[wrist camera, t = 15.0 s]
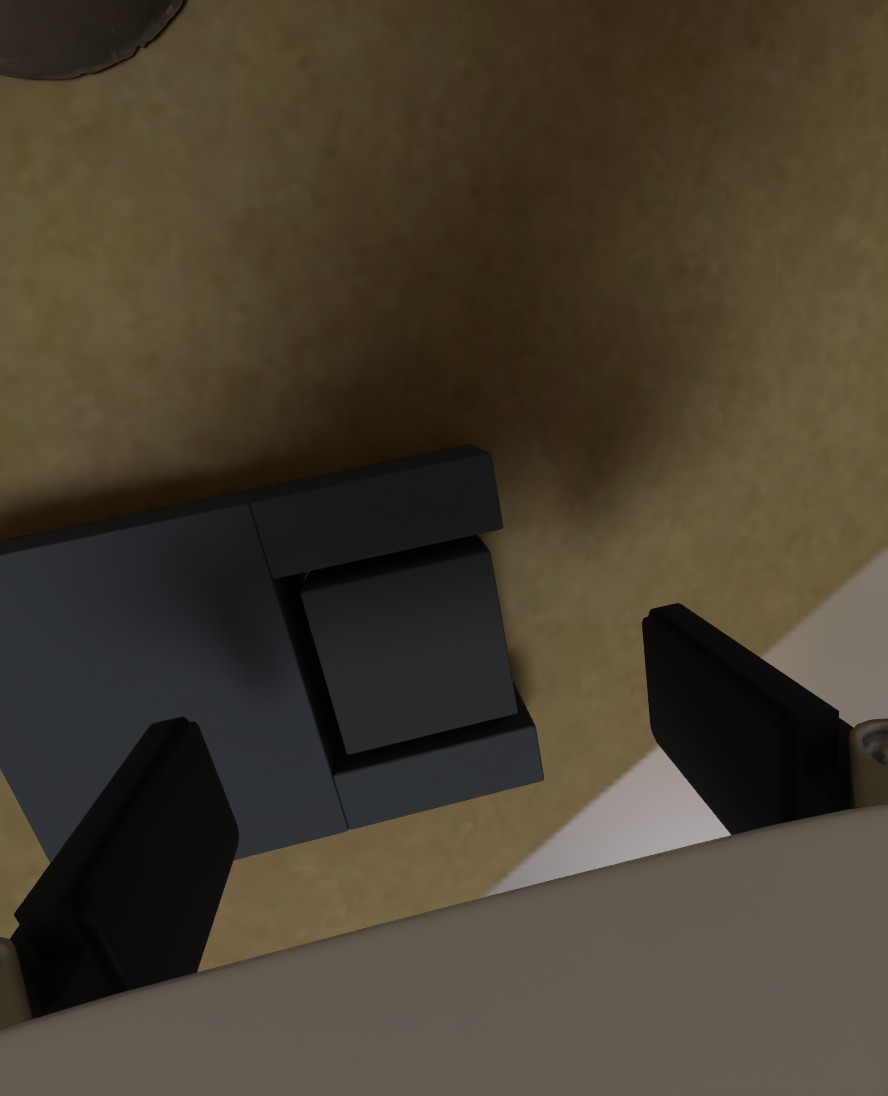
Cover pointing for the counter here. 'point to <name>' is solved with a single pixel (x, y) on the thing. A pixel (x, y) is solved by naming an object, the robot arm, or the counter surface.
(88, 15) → the pillar candle
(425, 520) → the large pad
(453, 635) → the small pad
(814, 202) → the counter surface
